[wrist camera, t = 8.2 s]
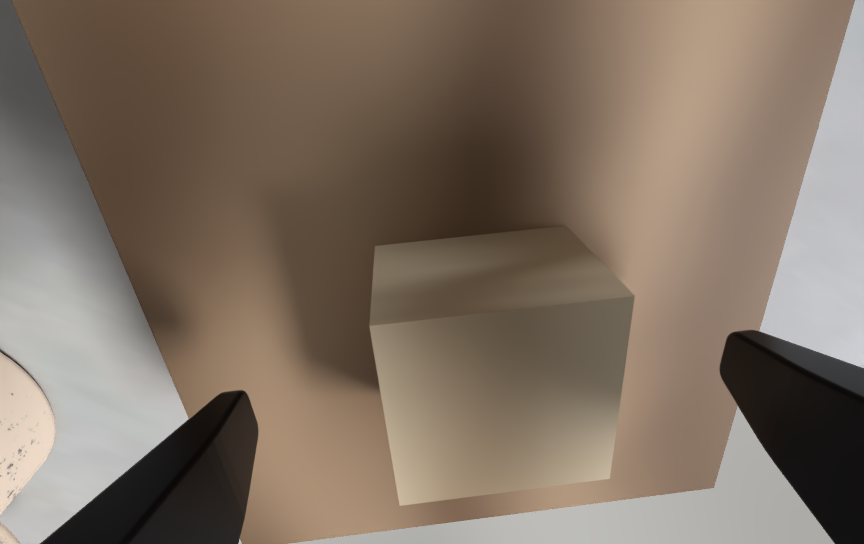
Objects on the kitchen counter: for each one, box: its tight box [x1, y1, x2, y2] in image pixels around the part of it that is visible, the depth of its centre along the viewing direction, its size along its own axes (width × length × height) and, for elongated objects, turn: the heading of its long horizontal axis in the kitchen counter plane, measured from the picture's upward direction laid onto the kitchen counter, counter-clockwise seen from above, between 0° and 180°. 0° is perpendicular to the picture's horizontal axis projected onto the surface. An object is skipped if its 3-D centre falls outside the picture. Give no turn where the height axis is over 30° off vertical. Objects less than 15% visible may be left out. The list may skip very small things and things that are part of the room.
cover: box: [11, 0, 855, 544], centre depth 9 cm, size 14×14×4 cm
